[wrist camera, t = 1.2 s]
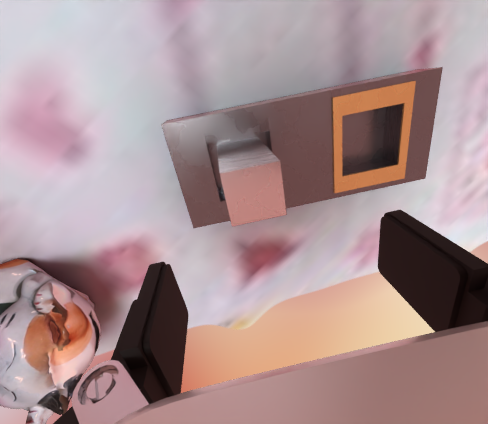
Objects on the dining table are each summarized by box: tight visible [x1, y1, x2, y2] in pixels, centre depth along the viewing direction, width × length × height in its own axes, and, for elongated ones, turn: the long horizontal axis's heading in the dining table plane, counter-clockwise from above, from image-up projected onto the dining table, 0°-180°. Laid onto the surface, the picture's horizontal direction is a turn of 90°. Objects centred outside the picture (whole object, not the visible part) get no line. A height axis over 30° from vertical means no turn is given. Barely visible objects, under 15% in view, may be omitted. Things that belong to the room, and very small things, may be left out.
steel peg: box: [217, 137, 286, 226], centre depth 21 cm, size 4×4×9 cm
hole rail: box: [161, 67, 442, 228], centre depth 25 cm, size 10×24×3 cm, turn 100°
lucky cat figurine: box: [0, 259, 101, 424], centre depth 25 cm, size 15×12×14 cm
